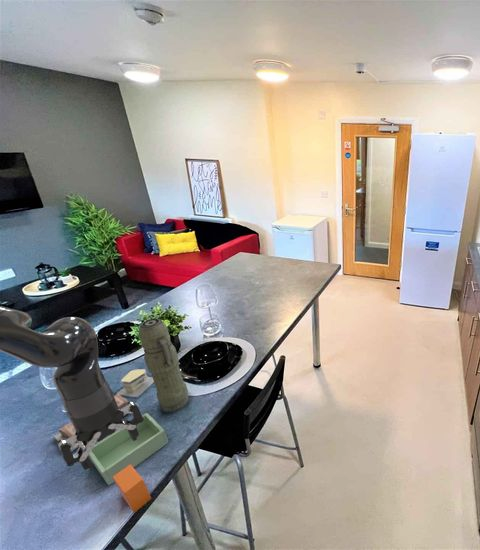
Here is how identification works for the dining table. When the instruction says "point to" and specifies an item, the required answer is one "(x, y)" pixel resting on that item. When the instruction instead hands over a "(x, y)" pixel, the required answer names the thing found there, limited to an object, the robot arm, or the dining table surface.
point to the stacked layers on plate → (135, 383)
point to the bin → (127, 448)
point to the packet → (132, 488)
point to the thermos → (163, 365)
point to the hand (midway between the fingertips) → (113, 452)
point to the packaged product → (70, 431)
